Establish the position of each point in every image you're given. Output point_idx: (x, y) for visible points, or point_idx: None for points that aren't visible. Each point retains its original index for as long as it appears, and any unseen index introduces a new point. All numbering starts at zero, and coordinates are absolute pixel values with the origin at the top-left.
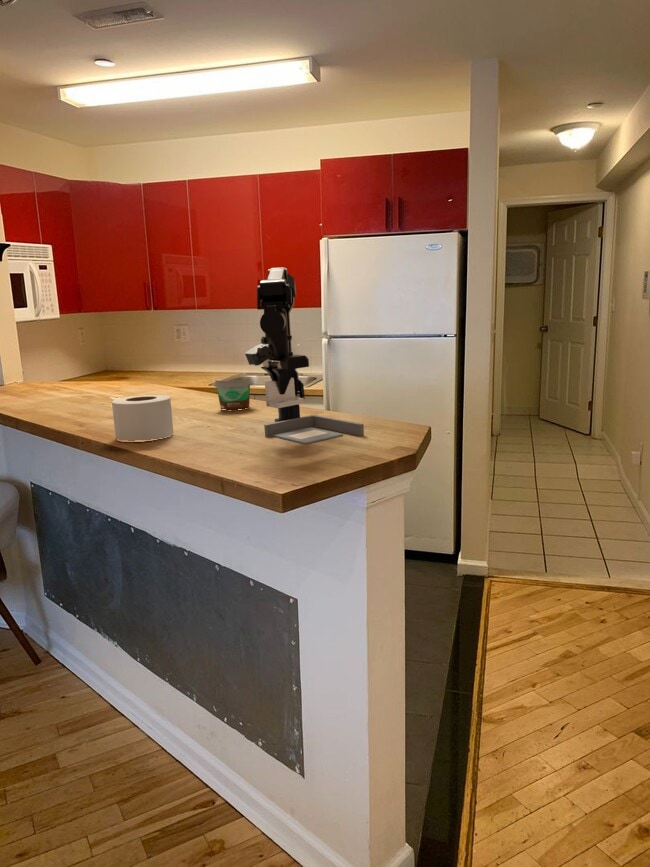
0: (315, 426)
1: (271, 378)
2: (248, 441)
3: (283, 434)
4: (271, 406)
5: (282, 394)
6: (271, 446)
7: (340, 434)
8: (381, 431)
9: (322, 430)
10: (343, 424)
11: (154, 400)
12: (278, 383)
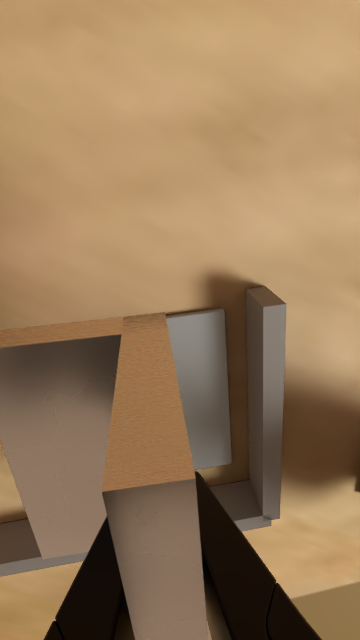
0: (241, 482)
1: (291, 629)
2: (226, 170)
3: (198, 344)
4: (85, 323)
5: None
6: (39, 206)
7: None
8: (16, 585)
9: None
10: None
11: None
12: (115, 590)
